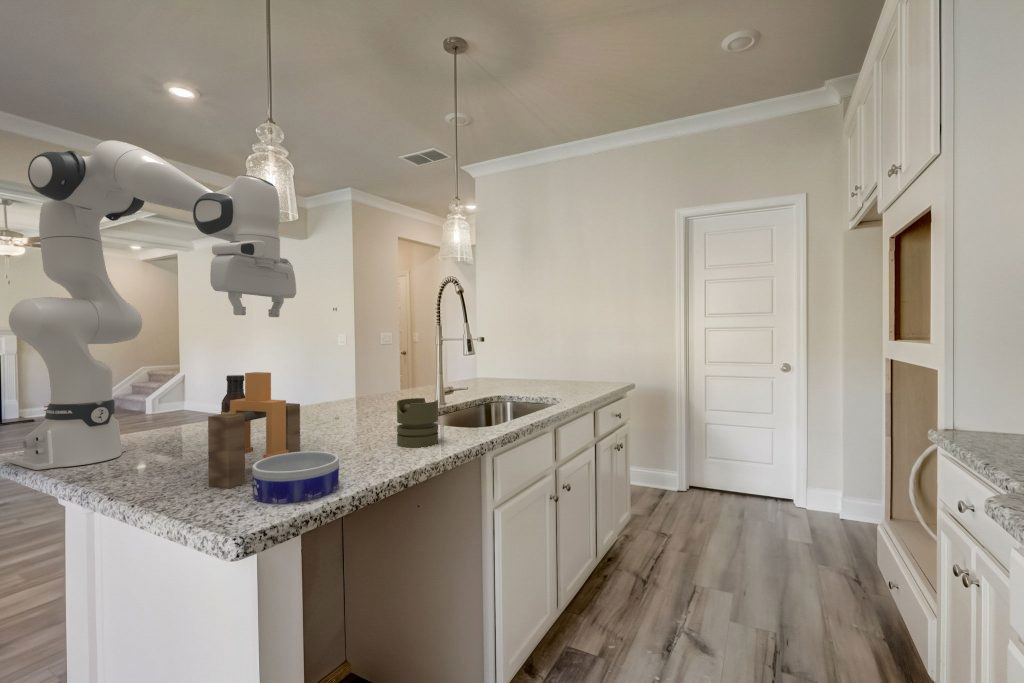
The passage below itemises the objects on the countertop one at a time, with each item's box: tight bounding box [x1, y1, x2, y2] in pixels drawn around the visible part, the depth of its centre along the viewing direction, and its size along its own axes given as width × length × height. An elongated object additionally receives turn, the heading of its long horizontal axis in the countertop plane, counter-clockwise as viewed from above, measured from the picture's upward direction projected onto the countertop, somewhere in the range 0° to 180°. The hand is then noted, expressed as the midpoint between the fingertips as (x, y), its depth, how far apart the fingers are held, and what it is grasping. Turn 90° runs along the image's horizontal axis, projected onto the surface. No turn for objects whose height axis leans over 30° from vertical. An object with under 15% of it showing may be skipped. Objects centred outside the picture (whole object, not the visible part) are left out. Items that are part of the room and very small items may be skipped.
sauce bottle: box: [220, 374, 245, 414], centre depth 123 cm, size 6×6×20 cm
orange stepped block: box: [230, 371, 288, 459], centre depth 102 cm, size 12×5×18 cm, turn 75°
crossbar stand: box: [207, 402, 301, 490], centre depth 102 cm, size 5×20×14 cm, turn 165°
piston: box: [396, 397, 439, 449], centre depth 132 cm, size 11×12×11 cm
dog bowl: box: [251, 450, 340, 505], centre depth 91 cm, size 15×15×6 cm
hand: (257, 316), depth 102 cm, fingers open, 8 cm apart
